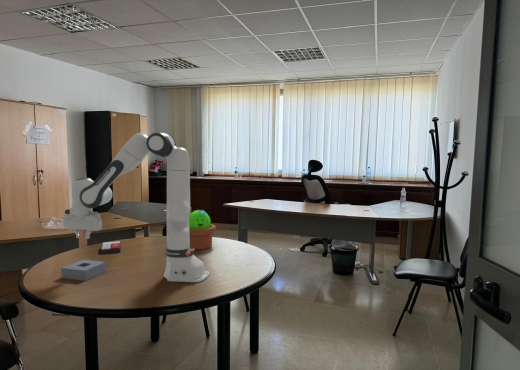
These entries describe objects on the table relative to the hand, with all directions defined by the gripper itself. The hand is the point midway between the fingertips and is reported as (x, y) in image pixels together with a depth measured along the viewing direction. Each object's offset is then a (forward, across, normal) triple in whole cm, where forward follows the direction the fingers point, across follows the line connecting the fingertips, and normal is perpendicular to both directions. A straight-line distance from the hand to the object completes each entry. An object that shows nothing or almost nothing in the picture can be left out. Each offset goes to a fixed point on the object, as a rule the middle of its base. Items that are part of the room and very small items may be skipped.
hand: (82, 238), depth 168 cm
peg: (+5, 0, 0) cm, 5 cm away
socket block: (+18, 0, 0) cm, 18 cm away
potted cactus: (+18, -31, -67) cm, 76 cm away
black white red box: (+19, +17, -42) cm, 49 cm away
